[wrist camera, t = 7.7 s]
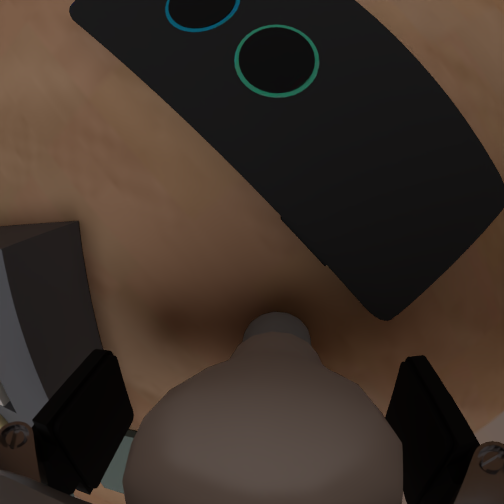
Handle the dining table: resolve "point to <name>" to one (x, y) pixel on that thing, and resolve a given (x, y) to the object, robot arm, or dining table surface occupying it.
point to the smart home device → (320, 129)
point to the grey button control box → (42, 314)
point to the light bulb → (266, 432)
